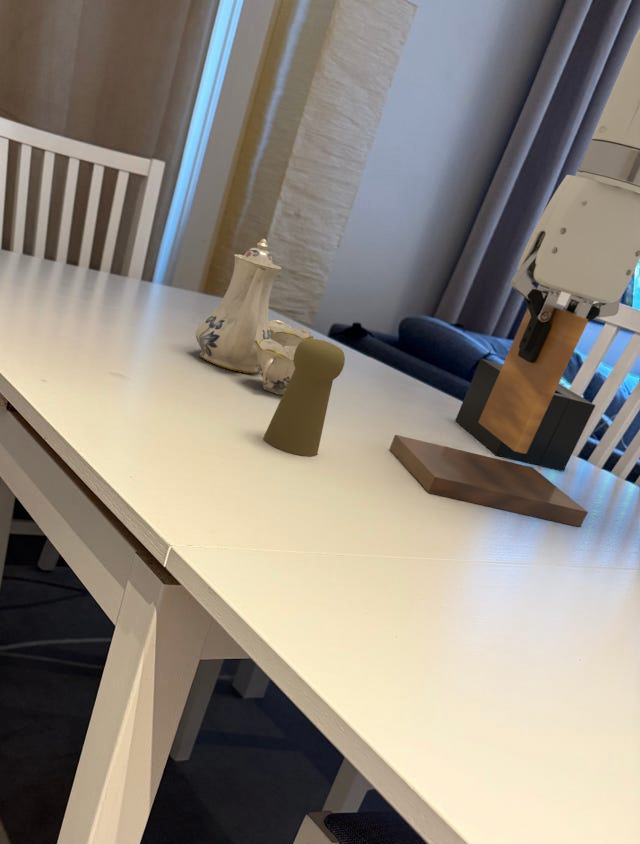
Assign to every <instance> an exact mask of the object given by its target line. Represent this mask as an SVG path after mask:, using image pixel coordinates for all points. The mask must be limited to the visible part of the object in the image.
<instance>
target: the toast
mask: <svg viewBox="0 0 640 844" xmlns="http://www.w3.org/2000/svg"><path fill="white" fill-rule="evenodd" d="M528 311H529V309H528V307H527V309H526V311H525V313H524V315H523V318H522V320H521V323H520V325H519V327H518V329H517V331H516V334H515V336H514V339H513V341H512V343H511V345H510V348H509V350H508V352H507V355H506V357H505V359H504V361H503V363H502V364H503V366H502V369H501V371H500V373H499V375H498V378H497V380H496V382H495V385H494V387H493V389H492V392H491V394H490V396H489V399H488V401H487V403H486V406H485V408H484V410H483V412H482V415H481V417H480V419H479V422H478V423H480V424H481V425H482V426H483V427H485V428H486V429H487V430H488V431H489V432H491V433H492V434H493V435H494V436H496V437H497V438H498V439H499V440H501V441H502V442H503V443H504V444H506V445H507V446H508V447H509V448H511V449H512V450H513V451H516V452H520V453H524V454H526V453H527V451H528V449H529V447H530V444H531V442H532V440H533V438H534V436H535V434H536V432H537V429H538V427H539V425H540V423H541V421H542V419H543V417H544V414H545V412H546V410H547V408H548V406H549V404H550V401H551V399H552V397H553V395H554V393H555V391H556V389H557V386H558V384H560V382H561V380H562V378H563V376H564V374H565V371H566V370H567V367H568V365H569V364H570V360H571V358H572V356H573V355H574V352H575V350H576V347H577V346H578V343H579V341H580V339H581V337H582V335H583V334H584V331H585V329H586V327H587V324H588V323H589V322H588V319H586V318H583V317H581V316H579V315H576V314H574V313H572V312H569V311H567V310H565V309H564V308H562V307H560V306H558V305H556V306H555V308H554V311H553V313H552V315H551V318H550V320H549V322H548V324H550V325H551V329H550V331H549V333H548V335H547V338H546V340H545V342H544V344H543V347H542V349H541V351H540V353H539V356H538V358H537V360H536V361H535V362H534V363H531V362H528V361H526V360H524V359H522V358H521V357H519V356H518V352H519V350H520V349H519V344H520V341H521V339H522V337H523V335H524V332H525V330H526V328H527V325H528V323H529V321H530V319H531V317H530V316H529V314H528Z"/></svg>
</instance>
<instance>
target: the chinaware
mask: <svg viewBox="0 0 640 844" xmlns="http://www.w3.org/2000/svg"><path fill="white" fill-rule="evenodd" d="M256 246H257V247H251V248H249V249H248V250H247V251H246V252H245V254H244V255H243V254H236V253H235V254H233V256H234V267H233V272H232V276H231V278H230V282H229V285H228V287H227V290H226V292H225V293H224V296H223V298H222V299H221V301H220V302H219V304H218V306H217V307H216V308H215V309H214V311H212V312H211V314H210V315H209V316H208V317H207V318H205V320H203V321H202V322H201V323H200V324H199V326H198V327H197V329H196V331H195V338H196V341H197V343H198V345H199V347H200V350H201V352H200V353H199V357H200V356H201V357H202V358H204V359H205V360H207V361H209V362H211V363H213V364H212V365H214V364H216V365H218V366H217V367H219V366H221V367H220V368H222V367H223V368H222V369H225V368H227V369H226V370H228V369H231V370H230V371H232V370H235V371H234V372H236V371H238V372H237V373H241V372H243V373H242V374H249V373H250V374H251V375H253V374H258V373H259V374H260V376H261V378H262V379H261V380H262V383H263V384H262V388H263V389H264V390H266V391H268V392H271V393H274V394H276V395H281V396H283V394H284V392H285V390H286V388H287V385H288V383H289V381H290V379H291V377H292V375H293V372H294V370H295V366H294V362H293V361H294V354H295V350H296V348H297V346H298V344H299V343H300V342H301V341H303V340H305V339H314V336H313V335H311V332H310V331H309V330H308V329H306V328H302V327H298V328H297V327H296V328H294V327H292V326H290V325H289V324H288V323H286V322H284V321H282V320H280V319H279V320H277V319H272V320H269V305H270V298H271V292H272V289H273V286H274V283H275V280H276V278H277V277H278V274H279V272H280V271H281V270H282V268H283V267H280V266H279V265H276V264H274V260H273V256H272V254H271V252H269V251H268V250H267V249H268V248H269V245H268V244H267V240H266V239H265V238H262V239H260V241H259V242H257V243H256ZM201 357H200V358H201ZM202 358H201V359H202ZM204 359H203V360H204ZM205 360H204V361H205ZM207 361H206V362H207ZM209 362H208V363H209ZM211 363H210V364H211ZM216 365H215V366H216ZM250 374H249V375H250Z"/></svg>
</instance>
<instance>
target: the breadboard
mask: <svg viewBox="0 0 640 844" xmlns="http://www.w3.org/2000/svg"><path fill="white" fill-rule="evenodd" d="M389 450H390V451H391V453H392V454H393V455H394V456H395V457H396V458H397V459H398V460H399V462H400V463H401V464H402V465H403V466H404V467H405V469H407V471H408V472H409V473H410V474H411V475H412V476H413V477H414V478H415V480H416V481H418V483H419V484H420V485H421V486H422V487H423V489H424V490H426V492H427V493H428V494H433V495H436V496H442V497H445V498H446V497H447V498H449V499H450V498H451V499H455V500H459V501H462V502H463V501H464V502H468V503H472V504H476V505H481V506H485V507H488V508H489V507H490V508H494V509H499V510H504V511H507V512H511V513H516V514H521V515H525V516H530V517H534V518H539V519H543V520H547V521H551V522H555V523H560V524H565V525H569V526H573V527H578V528H581V527H582V525H583V523H584V521H585V519H586V517H587V515H588V513H589V512H588V511H587V509H585V508H584V507H583V506H581V505H580V504H578V502H577V501H575V500H573V499H572V497H570V496H568V494H566V493H565V492H564V491H563V490H561V489H560V488H559V487H558V486H556V485H555V483H553V482H552V481H550V480H549V479H548V478H546V476H544V475H542V474H541V472H539V471H538V470H537V469H536V468H534V467H532V466H530V465H525V464H520V463H516V462H512V461H508V460H504V459H500V458H495V457H491V456H487V455H483V454H478V453H475V452H469V451H466V450H461V449H457V448H453V447H449V446H445V445H441V444H438V443H437V444H436V443H433V442H428V441H424V440H419V439H416V438H411V437H407V436H403V435H398V434H394V436H393V438H392V441H391V444H390V447H389Z"/></svg>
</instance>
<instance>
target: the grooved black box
mask: <svg viewBox="0 0 640 844" xmlns="http://www.w3.org/2000/svg"><path fill="white" fill-rule="evenodd" d="M503 364H504V363H499V362H495V361H491V360H487V359H484V358H480V359H479V362H478V364H477V367H476V369H475V371H474V373H473V377H472V378H471V381H470V384H469V386H468V389H467V391H466V394H465V396H464V398H463V400H462V403H461V405H460V408H459V410H458V413H457V415H456V416H455V417H456V418H455V420H454V421H455V422H456V423H457V424H459V425H460V427H462V428H463V429H465V430H466V431H467V432H468V433H470V435H472V436H473V438H475V439H476V440H478V441H479V442H480V443H481V444H482V445H483V446H484V447H486V448H487V449H488V450H489V451H490V452H492V453H493V454H494V455H495V456H497V457H502V458H507V459H510V460H514V461H519V462H523V461H524V462H523V463H527V462H529V463H528V464H531V463H533V464H532V465H535V464H537V465H536V466H540V465H541V466H540V467H545V468H548V467H550V468H549V469H552V468H554V469H553V470H556V469H559V470H558V471H560V470H563V471H562V472H565V469H566V467H567V465H568V463H569V461H570V459H571V457H572V455H573V453H574V451H575V449H576V447H577V445H578V443H579V440H580V439H581V436H582V434H583V432H584V430H585V429H586V427H587V424H588V422H589V420H590V418H591V416H592V414H593V412H594V410H595V408H596V404H594V403H592V402H590V401H589V400H587V399H586V398H584V397H583V396H580V394H577V393H576V392H574V391H572V390H570V389H569V388H567V387H565V386H563V385H562V384H560V383H559V384H558V386H557V389H556V391H555V393H554V395H553V397H552V399H551V401H550V404H549V406H548V408H547V410H546V412H545V414H544V417H543V419H542V421H541V423H540V425H539V427H538V429H537V432H536V434H535V436H534V438H533V440H532V442H531V444H530V447H529V449H528V451H527V453H526V454H524V453H520V452H516V451H513V450H512V449H511V448H509V447H508V446H507V445H506V444H504V443H503V442H502V441H501V440H499V439H498V438H497V437H496V436H494V435H493V434H492V433H491V432H489V431H488V430H487V429H486V428H485V427H483V426H482V425H481V424H480V423H478V422H479V419H480V417H481V415H482V412H483V410H484V408H485V406H486V403H487V401H488V399H489V396H490V394H491V392H492V389H493V387H494V385H495V382H496V380H497V378H498V375H499V373H500V371H501V369H502V366H503Z"/></svg>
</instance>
